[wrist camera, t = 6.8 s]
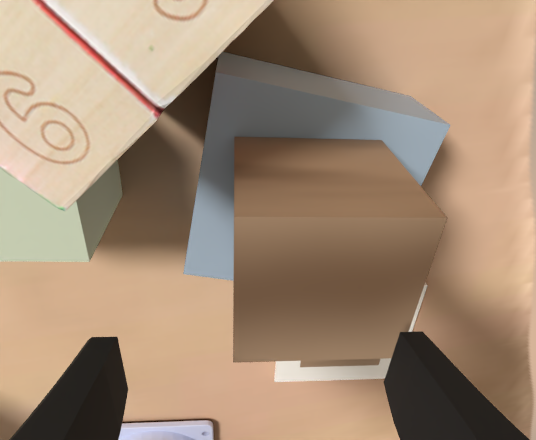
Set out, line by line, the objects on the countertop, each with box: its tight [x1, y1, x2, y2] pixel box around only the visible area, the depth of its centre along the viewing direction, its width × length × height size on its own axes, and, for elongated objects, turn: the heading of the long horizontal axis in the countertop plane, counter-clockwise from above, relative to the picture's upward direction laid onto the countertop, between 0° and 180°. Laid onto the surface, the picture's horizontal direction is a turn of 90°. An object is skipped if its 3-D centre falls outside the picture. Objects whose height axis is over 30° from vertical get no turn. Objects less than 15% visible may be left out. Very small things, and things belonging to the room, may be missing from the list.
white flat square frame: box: [274, 282, 428, 382], centre depth 24 cm, size 8×8×1 cm
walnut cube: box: [233, 137, 447, 362], centre depth 13 cm, size 5×5×5 cm
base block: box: [183, 52, 450, 281], centre depth 17 cm, size 8×8×4 cm
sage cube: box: [0, 160, 123, 262], centre depth 15 cm, size 5×5×5 cm
